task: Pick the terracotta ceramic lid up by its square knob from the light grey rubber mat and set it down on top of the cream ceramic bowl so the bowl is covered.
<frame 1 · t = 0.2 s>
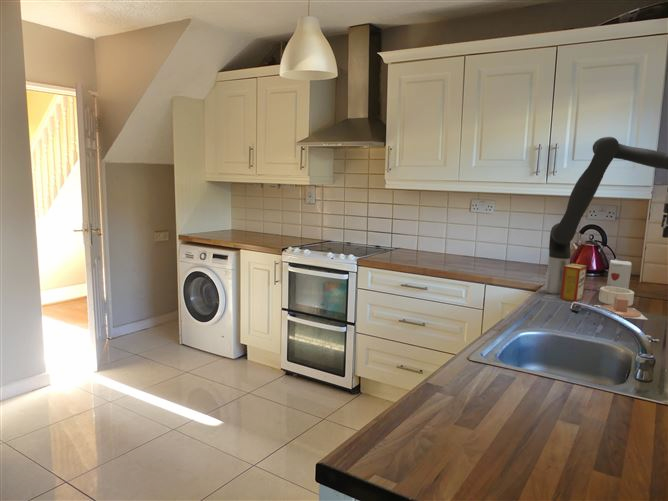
mat: (619, 313, 208), on the countertop
lid: (619, 311, 208), point 1 cm above the countertop, touching mat
baking soda box: (571, 299, 227), on the countertop
bowl: (615, 303, 223), on the countertop
supplement box: (616, 292, 244), on the countertop
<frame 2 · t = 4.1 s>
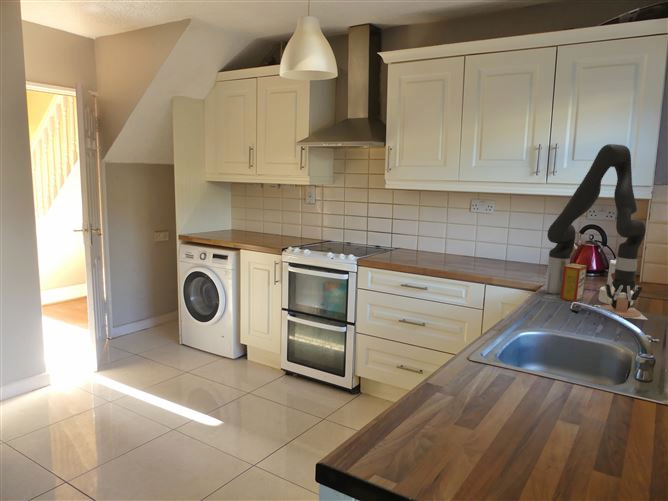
hand: (620, 308, 207), 2 cm above the countertop, fingers closed on lid, 4 cm apart
lid: (619, 311, 208), point 1 cm above the countertop, touching gripper, mat
everything else where it was.
when the fingers open (9 cm above the countertop, at t = 9.1 s): lid drops 1 cm, resting on bowl.
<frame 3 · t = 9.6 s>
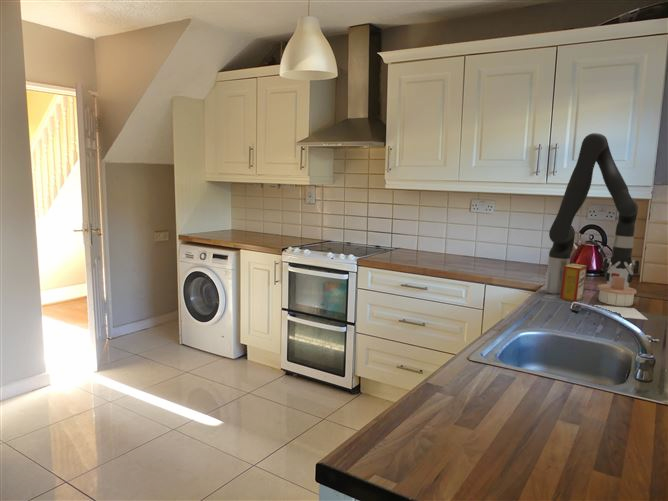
hand: (618, 281, 221), 10 cm above the countertop, fingers open, 8 cm apart
lid: (616, 290, 222), point 6 cm above the countertop, touching bowl
bowl: (615, 303, 223), on the countertop, touching lid
everything else where it was.
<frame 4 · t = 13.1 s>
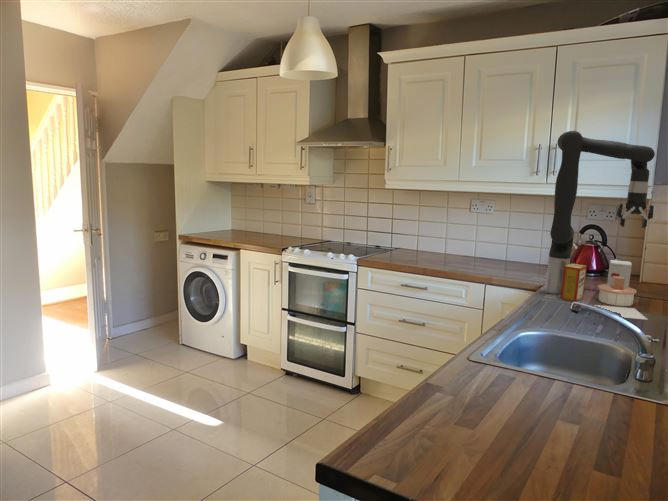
hand: (632, 227, 228), 33 cm above the countertop, fingers open, 8 cm apart
nothing on the countertop moved.
at the end: lid 0.1 cm off-centre on the bowl, point 6.0 cm above the bowl's base; lid touching bowl; the gripper is holding nothing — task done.
